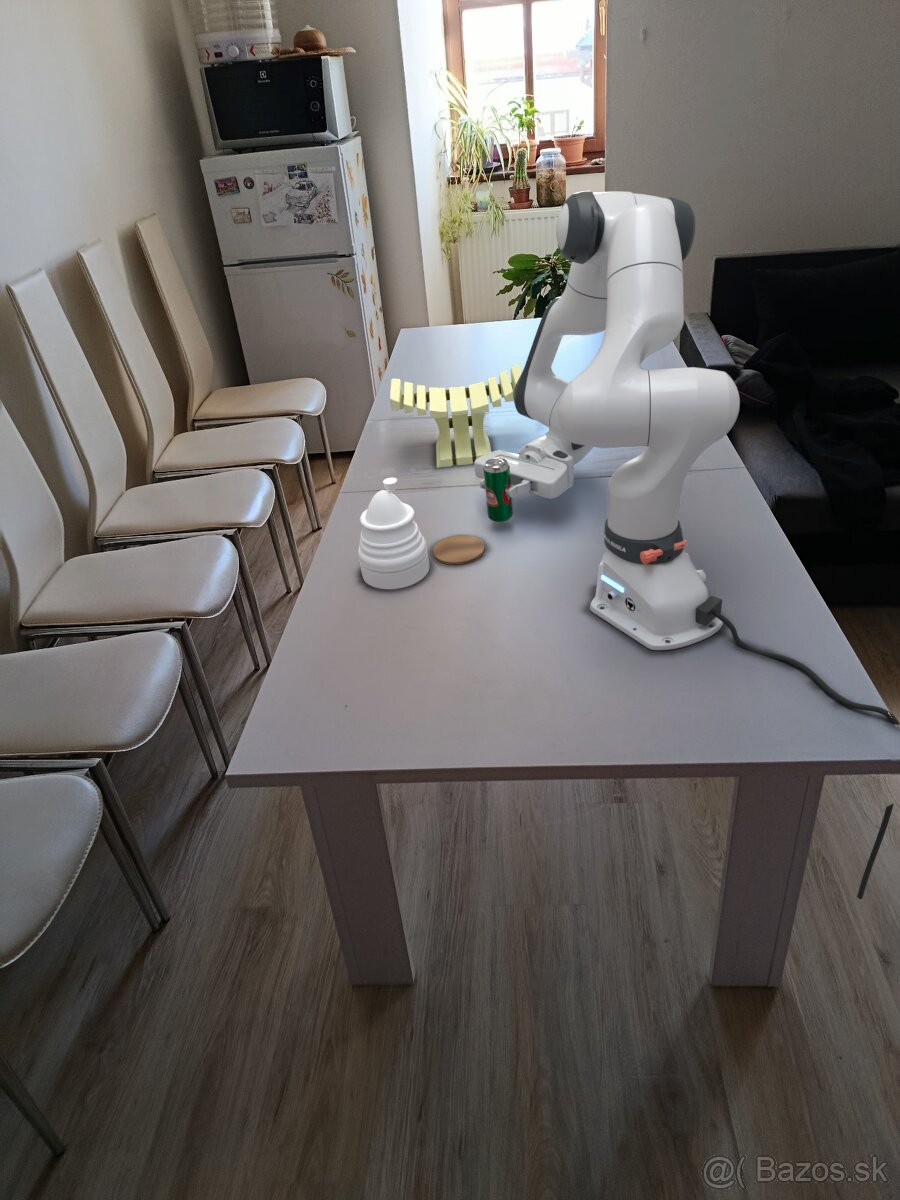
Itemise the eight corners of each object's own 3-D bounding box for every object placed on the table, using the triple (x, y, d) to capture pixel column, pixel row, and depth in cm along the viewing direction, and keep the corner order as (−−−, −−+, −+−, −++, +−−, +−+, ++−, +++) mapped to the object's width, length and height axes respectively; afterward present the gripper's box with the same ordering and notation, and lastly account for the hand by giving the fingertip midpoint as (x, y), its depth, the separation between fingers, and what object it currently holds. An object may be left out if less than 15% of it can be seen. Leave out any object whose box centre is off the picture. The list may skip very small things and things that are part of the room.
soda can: (483, 516, 159) (478, 461, 152) (505, 508, 161) (501, 454, 154) (495, 526, 155) (490, 470, 149) (517, 518, 157) (514, 463, 150)
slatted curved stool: (521, 430, 197) (517, 359, 187) (529, 457, 184) (525, 383, 174) (402, 443, 198) (391, 374, 188) (401, 471, 185) (389, 398, 175)
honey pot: (402, 544, 158) (389, 462, 147) (443, 568, 149) (432, 482, 139) (349, 571, 151) (331, 487, 141) (388, 597, 143) (372, 509, 133)
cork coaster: (493, 555, 151) (492, 552, 151) (444, 570, 148) (444, 567, 148) (472, 532, 159) (471, 530, 158) (425, 546, 156) (425, 544, 156)
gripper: (498, 437, 166) (454, 463, 158) (579, 458, 154) (536, 487, 146) (500, 465, 170) (457, 491, 162) (579, 487, 157) (537, 517, 150)
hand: (495, 489), depth 154 cm, fingers closed on soda can, 5 cm apart
